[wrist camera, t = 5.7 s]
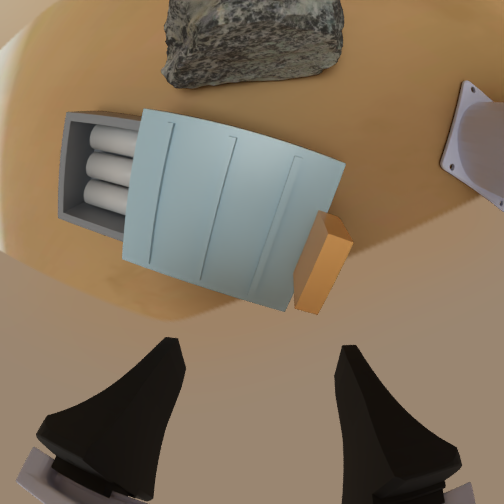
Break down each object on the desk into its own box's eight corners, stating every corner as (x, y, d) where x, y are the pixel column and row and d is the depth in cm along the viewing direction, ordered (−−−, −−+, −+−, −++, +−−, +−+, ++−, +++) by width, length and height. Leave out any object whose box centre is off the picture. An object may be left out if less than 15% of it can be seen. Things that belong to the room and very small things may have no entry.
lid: (353, 166, 14) (379, 181, 10) (294, 305, 18) (296, 352, 14) (151, 109, 14) (109, 107, 10) (129, 252, 18) (94, 285, 14)
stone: (219, 79, 7) (286, -102, 3) (125, 83, 13) (168, -44, 8) (354, 129, 14) (385, -4, 9) (241, 102, 20) (270, 0, 15)
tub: (214, 131, 17) (197, 132, 14) (189, 234, 21) (171, 258, 17) (98, 110, 17) (66, 112, 14) (87, 202, 21) (58, 218, 17)
